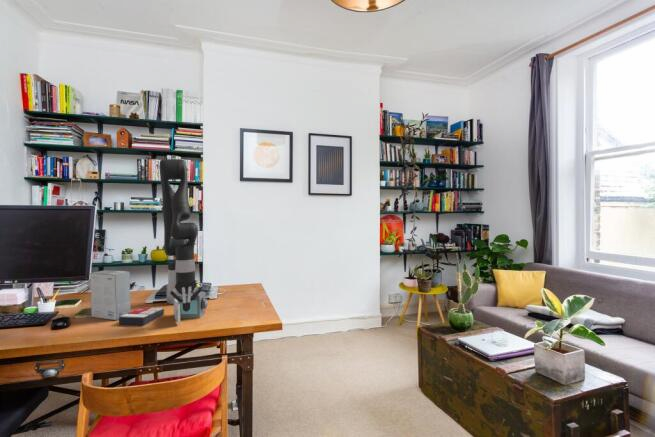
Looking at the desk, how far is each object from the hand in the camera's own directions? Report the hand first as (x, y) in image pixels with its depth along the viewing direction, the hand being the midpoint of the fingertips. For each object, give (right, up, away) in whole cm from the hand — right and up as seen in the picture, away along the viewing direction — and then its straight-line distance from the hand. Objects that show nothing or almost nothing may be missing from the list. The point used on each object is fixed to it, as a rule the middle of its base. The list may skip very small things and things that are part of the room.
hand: (186, 311), depth 142 cm
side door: (-4, -4, 0) cm, 6 cm away
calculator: (-21, -6, +5) cm, 23 cm away
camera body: (-1, -5, +9) cm, 11 cm away
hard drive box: (-38, -5, +10) cm, 39 cm away
